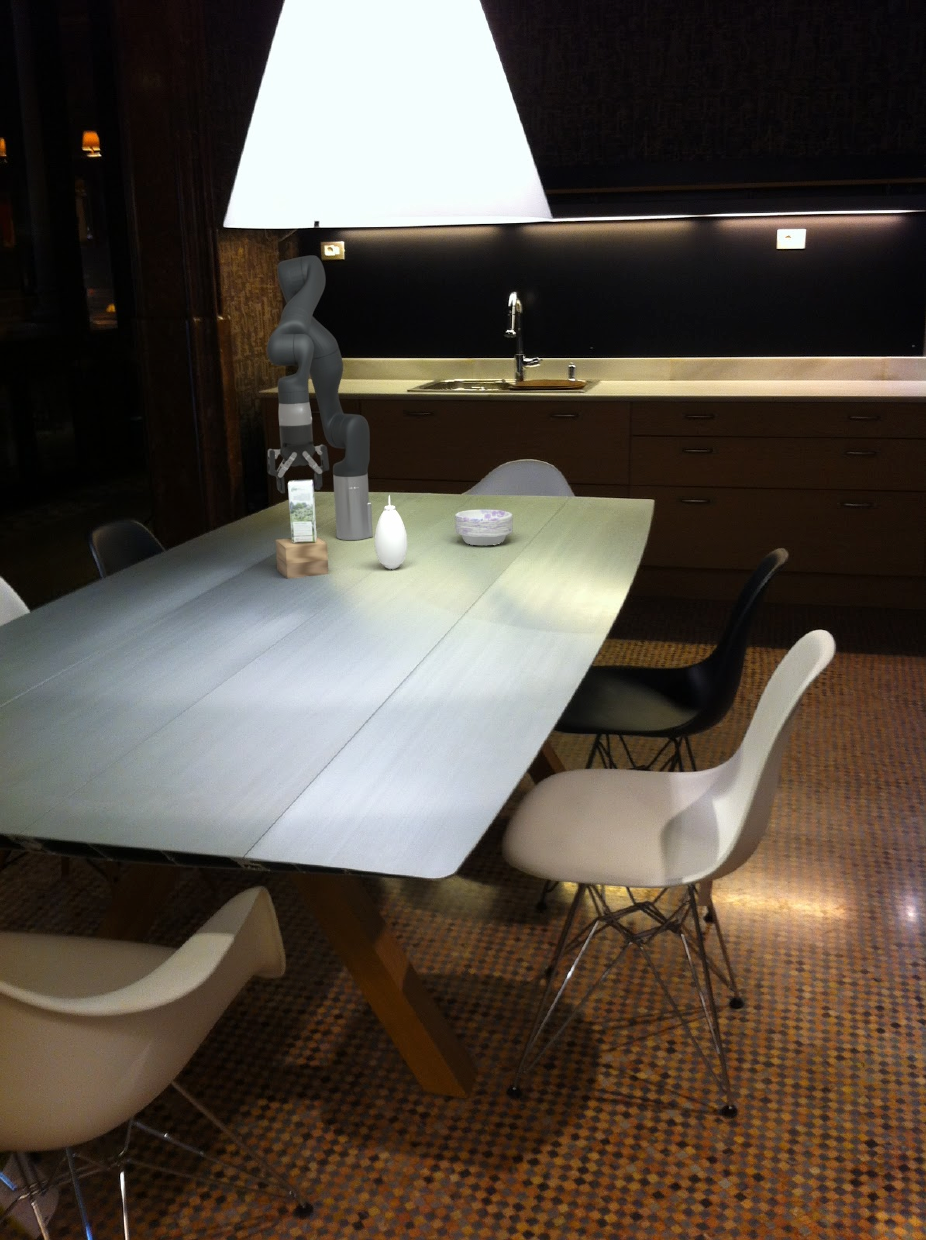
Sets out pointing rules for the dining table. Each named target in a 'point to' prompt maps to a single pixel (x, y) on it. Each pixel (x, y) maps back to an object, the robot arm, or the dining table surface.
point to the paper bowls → (483, 526)
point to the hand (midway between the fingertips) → (300, 491)
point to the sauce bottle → (390, 538)
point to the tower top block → (301, 551)
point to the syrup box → (302, 511)
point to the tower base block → (302, 568)
